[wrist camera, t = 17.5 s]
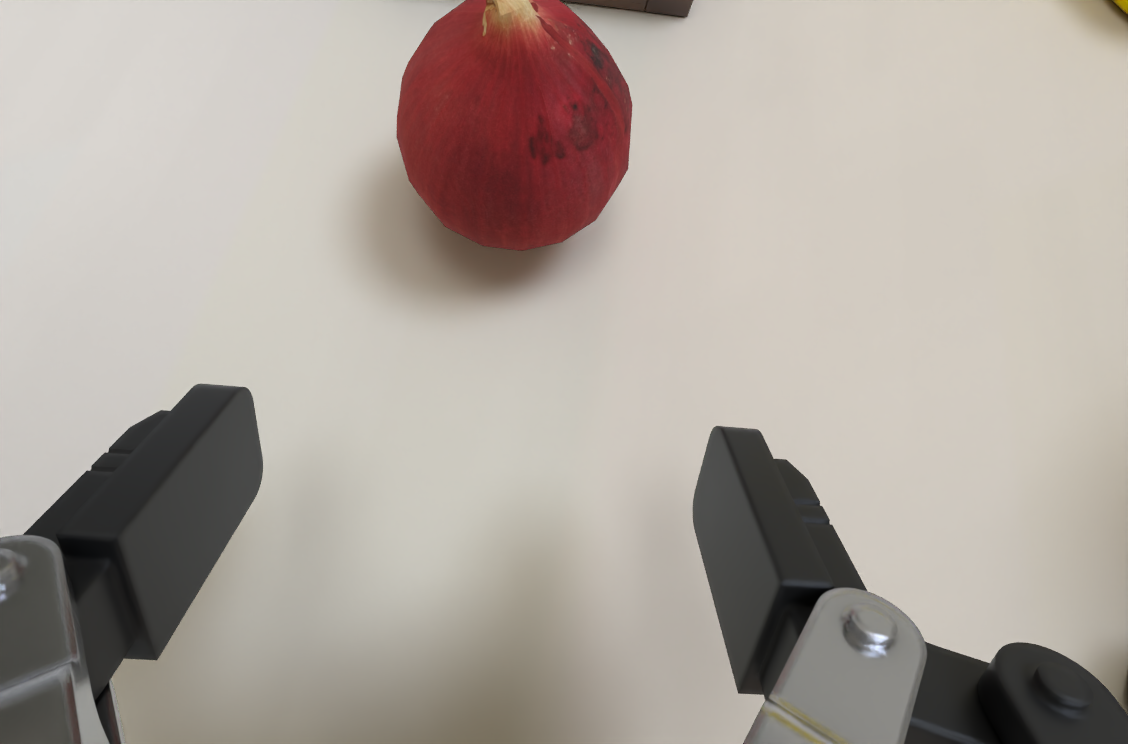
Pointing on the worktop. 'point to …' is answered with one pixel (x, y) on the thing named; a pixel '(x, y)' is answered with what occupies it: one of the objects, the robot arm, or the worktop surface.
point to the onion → (514, 122)
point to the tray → (645, 5)
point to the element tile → (1122, 5)
